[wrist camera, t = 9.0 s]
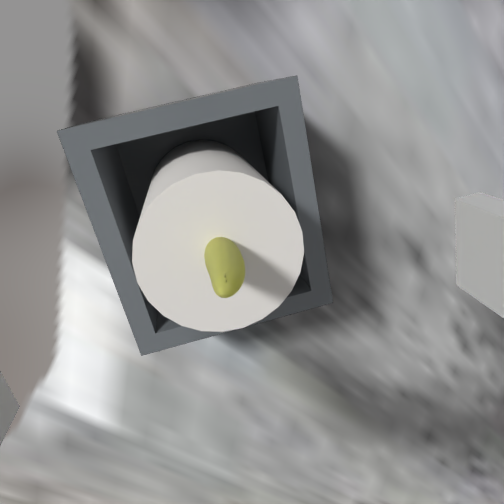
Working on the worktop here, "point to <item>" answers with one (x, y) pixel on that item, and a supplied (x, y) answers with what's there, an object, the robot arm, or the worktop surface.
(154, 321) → the slate holder
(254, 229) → the candle
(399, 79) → the worktop surface
